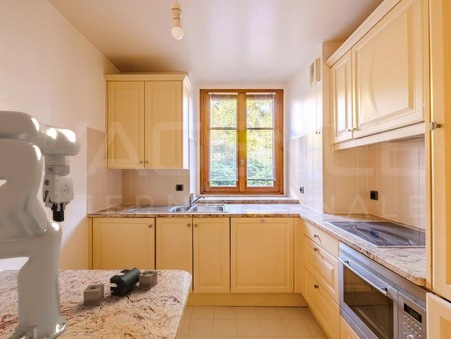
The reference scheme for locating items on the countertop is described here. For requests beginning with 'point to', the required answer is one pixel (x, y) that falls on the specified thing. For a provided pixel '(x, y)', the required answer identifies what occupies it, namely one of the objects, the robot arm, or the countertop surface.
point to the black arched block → (124, 281)
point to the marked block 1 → (93, 295)
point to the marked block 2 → (148, 279)
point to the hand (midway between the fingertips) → (58, 221)
